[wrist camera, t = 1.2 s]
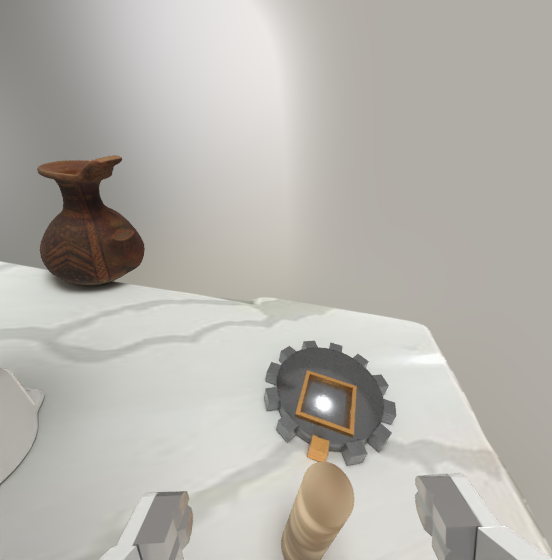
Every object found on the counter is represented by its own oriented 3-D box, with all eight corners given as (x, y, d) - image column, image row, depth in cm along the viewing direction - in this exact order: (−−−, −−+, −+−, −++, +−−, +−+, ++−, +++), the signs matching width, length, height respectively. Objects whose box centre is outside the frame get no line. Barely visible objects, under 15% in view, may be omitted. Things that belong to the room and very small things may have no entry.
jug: (42, 304, 58) (-23, 153, 42) (57, 259, 73) (14, 137, 58) (151, 288, 67) (132, 159, 52) (144, 251, 83) (127, 144, 68)
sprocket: (244, 432, 40) (245, 419, 38) (284, 337, 58) (286, 326, 56) (395, 491, 35) (404, 480, 34) (387, 369, 53) (392, 357, 52)
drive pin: (276, 562, 28) (296, 510, 21) (287, 513, 32) (307, 454, 25) (316, 582, 28) (352, 534, 20) (323, 529, 31) (355, 472, 24)
